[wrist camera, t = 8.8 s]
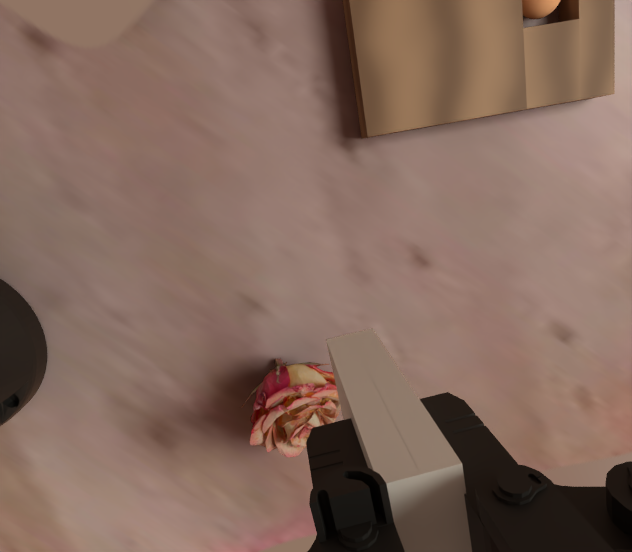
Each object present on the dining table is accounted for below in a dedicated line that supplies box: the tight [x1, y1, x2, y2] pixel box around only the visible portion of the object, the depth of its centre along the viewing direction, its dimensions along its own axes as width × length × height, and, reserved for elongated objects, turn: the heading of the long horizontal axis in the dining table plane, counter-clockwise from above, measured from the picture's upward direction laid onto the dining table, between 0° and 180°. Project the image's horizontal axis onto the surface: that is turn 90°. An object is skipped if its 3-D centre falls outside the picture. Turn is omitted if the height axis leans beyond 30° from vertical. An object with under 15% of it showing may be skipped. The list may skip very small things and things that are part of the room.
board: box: [343, 0, 614, 138], centre depth 34 cm, size 20×16×2 cm
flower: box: [240, 359, 341, 457], centre depth 39 cm, size 10×9×8 cm
